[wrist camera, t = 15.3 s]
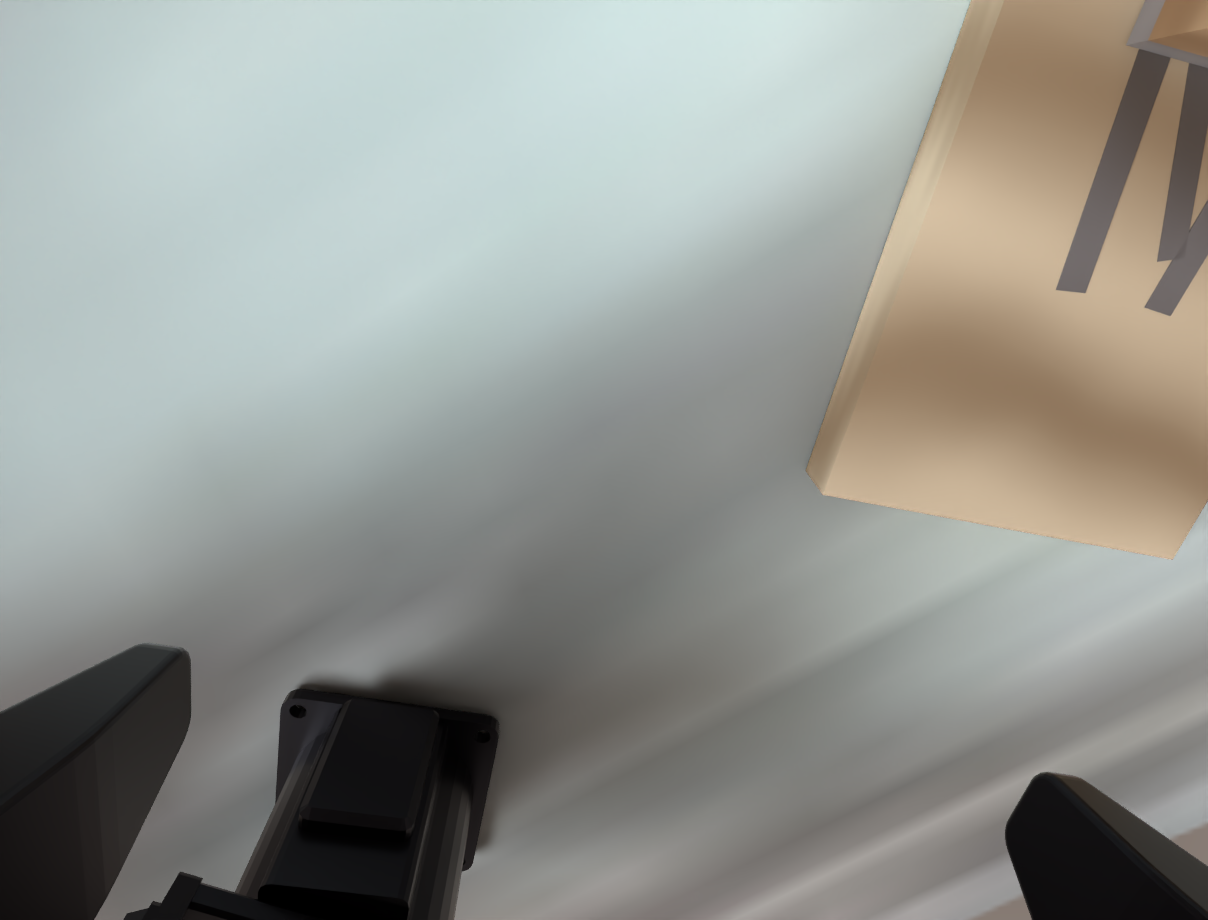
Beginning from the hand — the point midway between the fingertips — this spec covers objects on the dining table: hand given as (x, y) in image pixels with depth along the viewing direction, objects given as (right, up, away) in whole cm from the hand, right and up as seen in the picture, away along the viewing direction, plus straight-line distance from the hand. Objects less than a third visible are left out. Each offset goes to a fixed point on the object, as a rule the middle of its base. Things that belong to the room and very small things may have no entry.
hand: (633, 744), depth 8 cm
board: (+12, +10, +9) cm, 18 cm away
